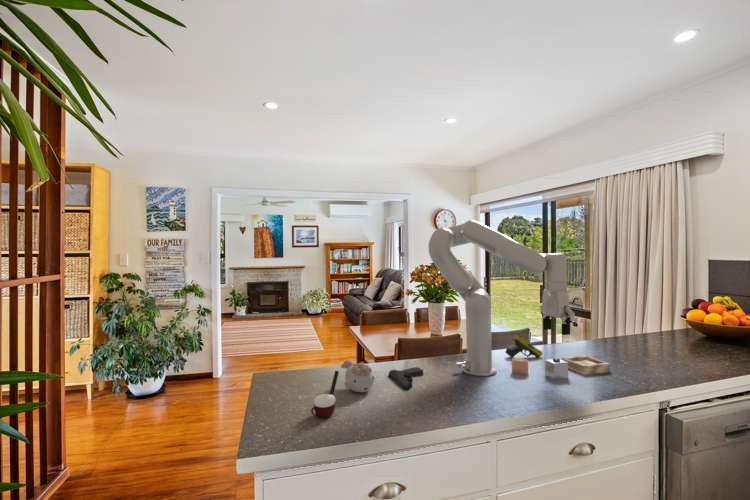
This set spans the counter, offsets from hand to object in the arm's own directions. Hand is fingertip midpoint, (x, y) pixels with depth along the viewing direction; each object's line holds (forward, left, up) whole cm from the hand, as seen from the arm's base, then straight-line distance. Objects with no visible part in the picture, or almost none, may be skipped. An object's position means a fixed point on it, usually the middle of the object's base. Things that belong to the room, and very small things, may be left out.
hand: (556, 331), depth 146 cm
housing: (-1, -1, -17) cm, 17 cm away
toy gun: (+3, +25, -17) cm, 31 cm away
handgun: (-53, +11, -17) cm, 57 cm away
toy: (-75, +8, -17) cm, 77 cm away
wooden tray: (+16, +4, -17) cm, 24 cm away
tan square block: (-11, +7, -17) cm, 21 cm away
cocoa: (-88, -11, -17) cm, 90 cm away
